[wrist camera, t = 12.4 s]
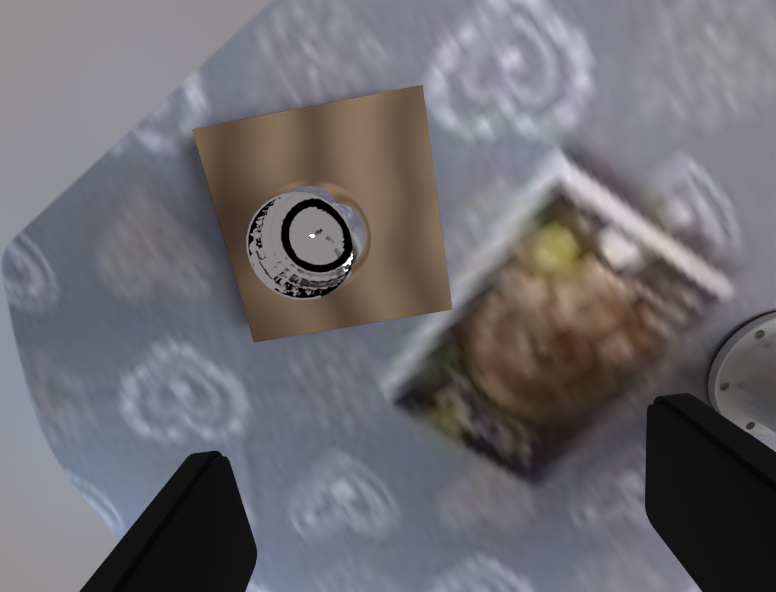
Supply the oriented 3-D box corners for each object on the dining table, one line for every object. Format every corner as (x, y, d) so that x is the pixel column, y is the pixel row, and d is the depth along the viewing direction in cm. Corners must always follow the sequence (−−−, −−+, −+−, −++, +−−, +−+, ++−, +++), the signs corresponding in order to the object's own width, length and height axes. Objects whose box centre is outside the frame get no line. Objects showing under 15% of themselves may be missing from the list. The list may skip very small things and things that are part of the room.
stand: (417, 100, 29) (422, 85, 25) (443, 294, 34) (452, 309, 29) (219, 137, 30) (192, 129, 26) (270, 323, 34) (254, 342, 30)
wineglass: (391, 226, 28) (395, 250, 16) (336, 278, 29) (303, 337, 17) (336, 165, 27) (297, 146, 15) (281, 222, 28) (204, 244, 16)
